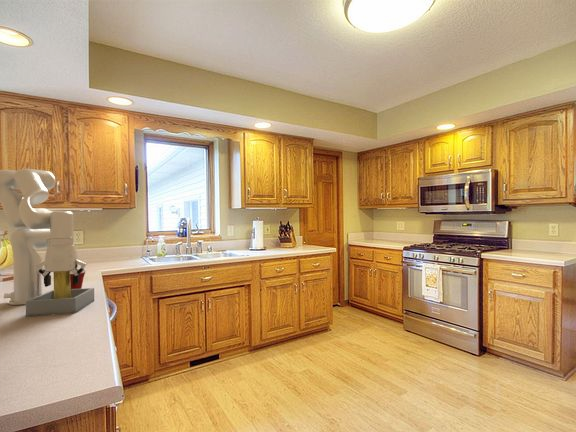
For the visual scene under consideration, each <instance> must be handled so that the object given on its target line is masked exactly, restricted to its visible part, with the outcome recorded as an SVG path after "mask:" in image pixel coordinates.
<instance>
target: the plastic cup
mask: <svg viewBox="0 0 576 432" xmlns="http://www.w3.org/2000/svg"><path fill="white" fill-rule="evenodd" d="M77 269H78V270H79V269H80V268H77ZM86 272H87V269H86V268H85V269H84V271H82V272H81V273H80V274H79V283H78V284H77V285H75V286H73V276H74V274H73V273H72V272H71V271H70V284H71V289H83V288H82V287H83V283H84V277H85V275H86Z"/></svg>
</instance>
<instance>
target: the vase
mask: <svg viewBox="0 0 576 432" xmlns="http://www.w3.org/2000/svg"><path fill="white" fill-rule="evenodd" d="M53 290H54V296H53V299H62V298H71V284H70V271H66V272H63V271H56V272H53Z"/></svg>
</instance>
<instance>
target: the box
mask: <svg viewBox="0 0 576 432" xmlns="http://www.w3.org/2000/svg"><path fill="white" fill-rule="evenodd" d="M53 296H54V289H52V290H50V291H47V292H45V293H42V295H40V296H37V297H35V298H33V299H30V300H28V301H26V304H25V317H40V316H42V317H43V316H52V314H55V315H66V314H76V313H78V312H79V311H81V310H83V309H84V308H86V307H88V306H89V305H90V304H91V303H93V302H95V287H89V288H88V287H87V288H81V289H71V298H62V299H53Z"/></svg>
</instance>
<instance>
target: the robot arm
mask: <svg viewBox="0 0 576 432" xmlns="http://www.w3.org/2000/svg"><path fill="white" fill-rule="evenodd" d="M55 186H56V177H55V175H54V174H53V173H52V172H51V171H49V170H48V171H47V170H44V169H34V168H33V169H32V168H20V169H17V170H14V169H0V204H1V206H2V211H3V213H4V215H5V218H6V220H7V223H8V224H9V226H10V228H12V229H14V230H13V231H11V234H10V236H9V242H10V247H11V250H12V258H13V259H12V262H13V263H12V264H13V265H12V266H13V268H12V269H13V291H12V292H6V293H3V299H10V300H9V301H8V304H9V305H11V306H21V305H26V301H28V300H30V299H33V298H35V297H37V296H40V295H42V294H43V284H44V287H45V288H47V287H49V286H51V285H52V275H51V273H54V272H56V271H63V272H66V271H71V272H72V273H73V274H74V276H73V286H75V285H77V284H78V283H79V274H80V273H81V272H82V271H84V269H85V270H86V267H87V266H88V264H87V263H86V262H84V261H82V260H79V259H78V251H77V247H76V245H74V228H75V226H74V223H75V222H74V218H75V217H74V213H73V212H72V211H69V210H66V211H65V210H49V209H47V208H44V207H35V206H38V205H41V204H43V203H45V202H46V201H47V200H48V199H49V197H50V192H49V190H51V189H53V188H55ZM16 190H18V191H20V192H17V191H16ZM45 249H46V250H45ZM36 250H45V256H44V261H43V259H42V257H41V255H40V254H39V253H38V252H37V251H36ZM78 266H80V268H79V267H78ZM78 269H79V270H78Z"/></svg>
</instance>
